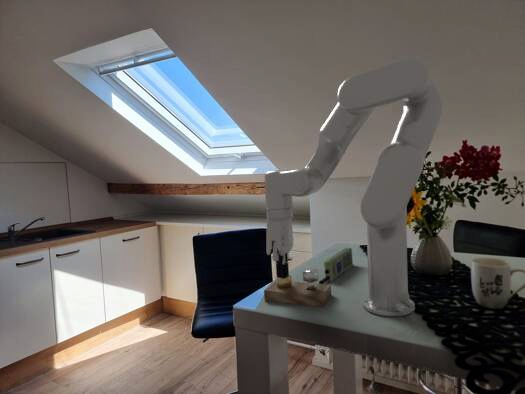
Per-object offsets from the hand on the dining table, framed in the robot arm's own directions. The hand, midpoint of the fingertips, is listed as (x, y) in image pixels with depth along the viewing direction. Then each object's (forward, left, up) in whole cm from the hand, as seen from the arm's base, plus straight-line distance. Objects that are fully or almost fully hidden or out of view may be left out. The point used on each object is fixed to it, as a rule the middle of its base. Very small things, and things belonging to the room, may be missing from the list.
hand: (282, 276), depth 106 cm
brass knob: (0, 0, -6) cm, 6 cm away
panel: (-3, -3, -6) cm, 7 cm away
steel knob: (-5, -7, -3) cm, 9 cm away
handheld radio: (+12, -22, -6) cm, 26 cm away
